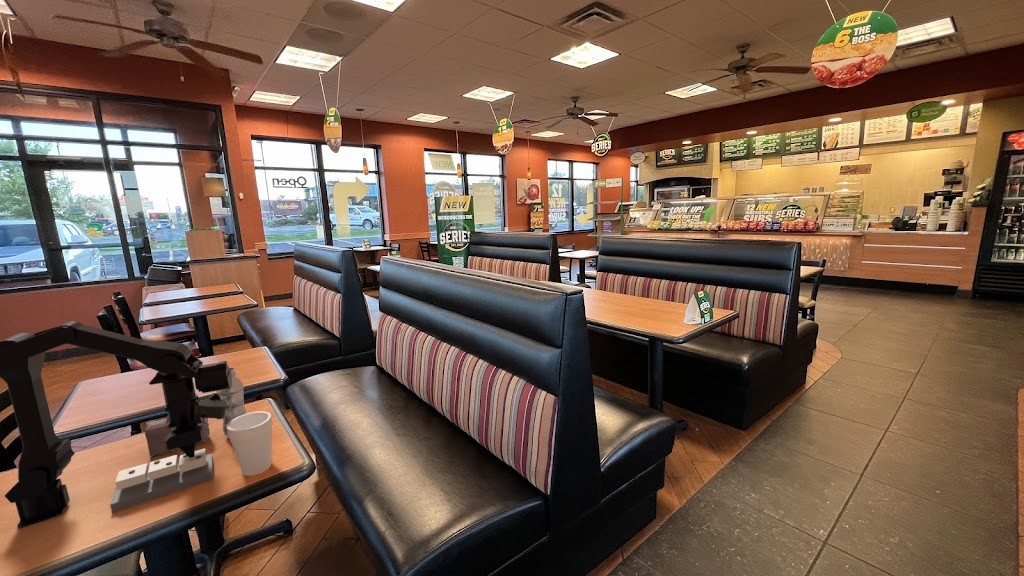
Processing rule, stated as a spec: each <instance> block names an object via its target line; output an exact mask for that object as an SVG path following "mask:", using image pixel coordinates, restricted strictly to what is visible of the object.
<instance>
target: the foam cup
mask: <svg viewBox="0 0 1024 576" xmlns="http://www.w3.org/2000/svg"><path fill="white" fill-rule="evenodd" d="M273 423H274V422H273V417H272V414H271V413H270V412H268V411H264V410H263V411H261V410H260V411H252V412H246V414H244V415H241V416H238V417H236V418H235V419H233V420H231V421H230V422H229V423H228V424H227V425H226V426H227V432H228V436H229V437H228V439H230V443H231V444H232V447H233V451H234V453H235V456H236V459H237V462H238V465H239V467H240V469H241V473H242V475H244V476H247V477H250V476H252V477H253V476H256V475H260V474H262V473H264V472H266V471H267V470H268V469H269V468H271V465H272V458H273V457H272V453H273V452H272V450H273V449H272V446H273V445H272V444H273V443H272V441H273V436H272V435H273V433H272V432H273Z"/></svg>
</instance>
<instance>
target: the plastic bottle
mask: <svg viewBox="0 0 1024 576" xmlns="http://www.w3.org/2000/svg"><path fill="white" fill-rule="evenodd" d="M229 369H230V370H231V375H232V387H231V388H229V389H223V390H218V391H215V392H216V394H219V395H220V397H221V400H222V399H224V400H225V401H226V402H227V407H226V411H225V414H224V418H223V419H222V431H223V434H224V436H226V437H227V438H229V436H228V432H227V426H226V425H227V424H228V423H229V422H230V421H231V420H233V419H235V418H236V417H238V416H241V415H244V414H247V411H246V407H245V399H244V398H245V397H244V388H245V387H244V383H243V382H242V380H240V378H238V377H237V376H236V375H237V373H236V368H235V367H229Z"/></svg>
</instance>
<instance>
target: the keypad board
mask: <svg viewBox="0 0 1024 576" xmlns="http://www.w3.org/2000/svg"><path fill="white" fill-rule="evenodd" d="M211 481H214V458H213V453H208V454H206V465H205V466H202V467H198V468H195V469H192V470H189V471H185V472H182V473H180V469H179V462H178V470H177V472H176V473H173V474H170V475H166V476H163V477H160V478H156V479H153V480H150V481H149V476H148V478H147V481H146V482H143V483H140V484H136V485H133V486H130V487H127V488H123V489H120V490H117V488H116V487H115V489H114V492H113V495H112V498H111V501H110V504H109V505H110V509H111V513H112V514H114V513H116V512H119V511H123V510H125V509H128V508H130V507H131V508H132V507H134V506H137V505H140V504H143V503H146V502H149V501H153V500H155V499H158V498H161V497H165V496H168V495H171V494H174V493H178V492H181V491H183V490H186V489H190V488H193V487H196V486H199V485H201V484H202V485H203V484H205V483H209V482H211Z"/></svg>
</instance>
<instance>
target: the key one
mask: <svg viewBox="0 0 1024 576" xmlns="http://www.w3.org/2000/svg"><path fill="white" fill-rule="evenodd" d="M148 470H149V464H148V462H147V463H144V464H140V465H136V466H135V465H134V466H133V467H130V468H125V469H122V470H119V471H118V473H117V476H116V479H115V482H114V483H115V489H116V488H117V490H120V489H123V488H127V487H130V486H133V485H136V484H140V483H143V482H146V481H147V478H148Z"/></svg>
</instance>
